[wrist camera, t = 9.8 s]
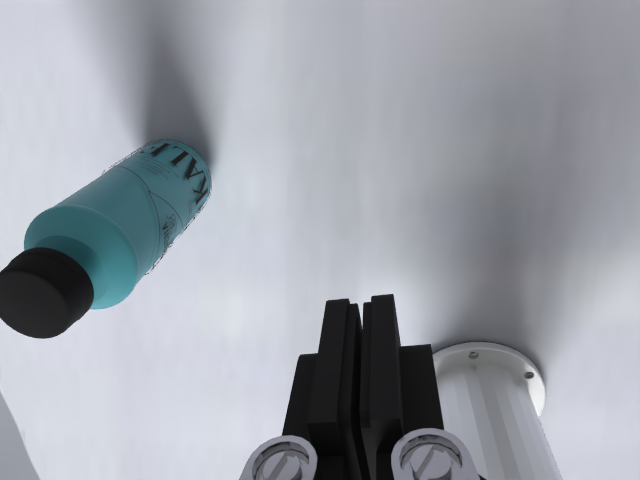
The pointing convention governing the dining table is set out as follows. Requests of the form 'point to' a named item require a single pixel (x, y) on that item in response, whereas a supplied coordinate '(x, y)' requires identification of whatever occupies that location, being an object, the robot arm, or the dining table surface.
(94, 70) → the dining table surface
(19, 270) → the beverage bottle
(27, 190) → the dining table surface
